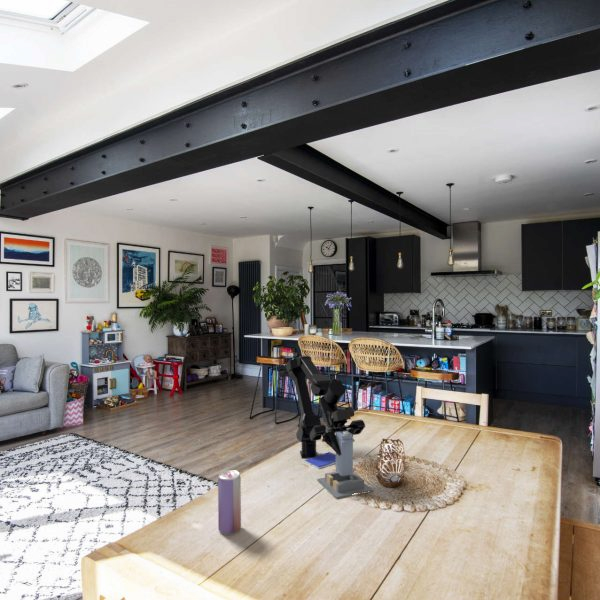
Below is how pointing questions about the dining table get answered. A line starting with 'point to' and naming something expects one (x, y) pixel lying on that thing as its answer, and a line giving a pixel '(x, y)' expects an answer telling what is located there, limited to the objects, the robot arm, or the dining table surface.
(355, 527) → the dining table surface
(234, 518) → the beverage can
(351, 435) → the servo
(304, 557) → the dining table surface
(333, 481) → the chassis
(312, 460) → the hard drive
